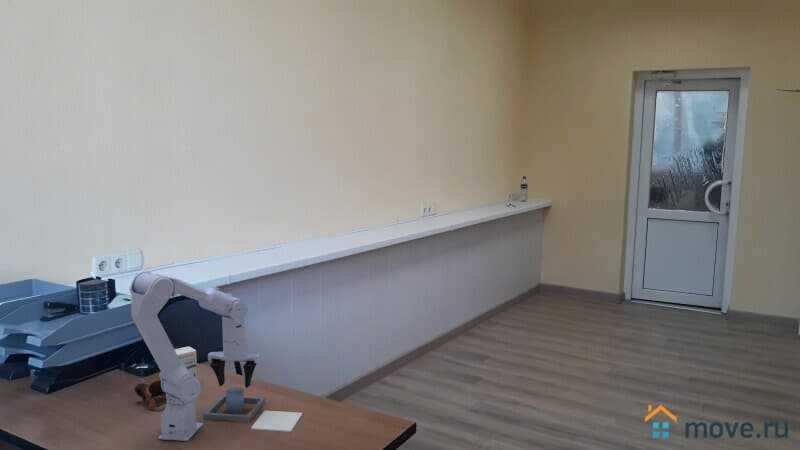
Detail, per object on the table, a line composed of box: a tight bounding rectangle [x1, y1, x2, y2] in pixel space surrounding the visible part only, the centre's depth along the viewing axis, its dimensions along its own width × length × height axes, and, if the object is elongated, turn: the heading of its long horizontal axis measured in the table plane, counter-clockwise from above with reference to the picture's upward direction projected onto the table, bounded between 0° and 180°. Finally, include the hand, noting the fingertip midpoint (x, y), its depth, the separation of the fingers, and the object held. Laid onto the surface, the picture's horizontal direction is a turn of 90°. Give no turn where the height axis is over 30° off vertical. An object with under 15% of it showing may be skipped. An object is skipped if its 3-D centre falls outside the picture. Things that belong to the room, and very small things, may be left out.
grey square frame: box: [203, 394, 266, 423], centre depth 179 cm, size 13×13×2 cm
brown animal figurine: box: [134, 378, 167, 411], centre depth 183 cm, size 12×9×8 cm
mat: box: [250, 410, 303, 433], centre depth 172 cm, size 11×11×1 cm
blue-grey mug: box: [225, 387, 245, 415], centre depth 179 cm, size 7×5×6 cm
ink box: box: [174, 346, 198, 380], centre depth 195 cm, size 9×5×12 cm, turn 134°
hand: (234, 385), depth 178 cm, fingers open, 7 cm apart
